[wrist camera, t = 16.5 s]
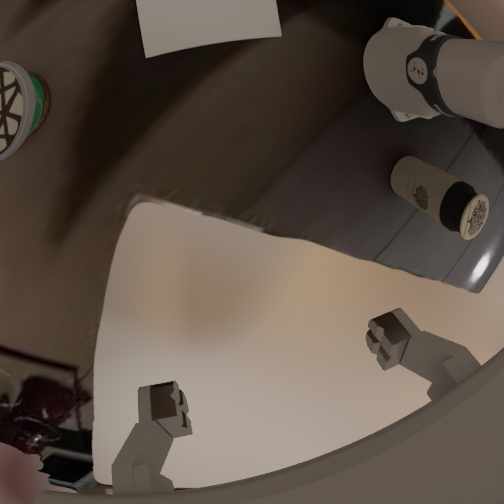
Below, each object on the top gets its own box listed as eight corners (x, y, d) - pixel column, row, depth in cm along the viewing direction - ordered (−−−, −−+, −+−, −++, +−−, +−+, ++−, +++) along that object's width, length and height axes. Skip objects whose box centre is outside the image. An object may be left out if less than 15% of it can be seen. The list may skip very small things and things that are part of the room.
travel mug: (422, 156, 48) (495, 193, 34) (415, 194, 53) (481, 239, 38) (393, 154, 47) (469, 193, 32) (386, 195, 51) (454, 244, 36)
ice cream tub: (50, 150, 33) (20, 171, 25) (16, 146, 30) (-19, 166, 22) (68, 64, 27) (39, 60, 19) (31, 62, 25) (-4, 60, 17)
